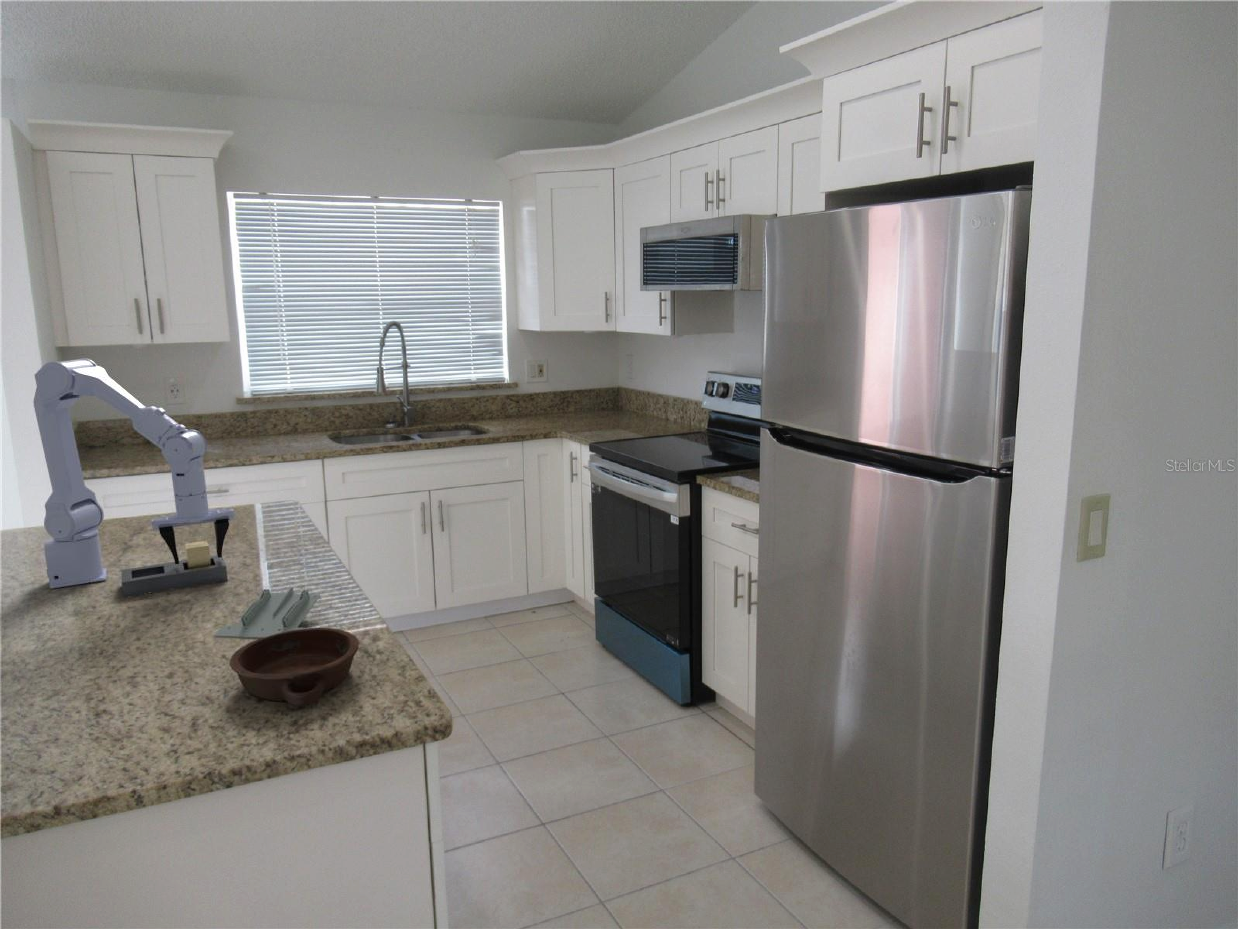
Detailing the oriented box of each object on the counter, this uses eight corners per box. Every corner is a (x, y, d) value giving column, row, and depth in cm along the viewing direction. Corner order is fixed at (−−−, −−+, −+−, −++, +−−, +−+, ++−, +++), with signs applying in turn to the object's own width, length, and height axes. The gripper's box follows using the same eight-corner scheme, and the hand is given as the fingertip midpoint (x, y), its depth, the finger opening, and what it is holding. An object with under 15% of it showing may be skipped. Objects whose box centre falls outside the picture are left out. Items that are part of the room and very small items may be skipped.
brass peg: (190, 582, 170) (186, 548, 169) (188, 577, 174) (184, 544, 172) (212, 579, 172) (208, 545, 171) (210, 573, 176) (206, 540, 174)
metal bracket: (251, 581, 153) (331, 583, 151) (260, 607, 156) (338, 610, 154) (207, 632, 141) (293, 635, 139) (217, 660, 143) (301, 664, 141)
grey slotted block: (123, 597, 163) (121, 582, 162) (123, 584, 170) (121, 569, 170) (227, 580, 171) (226, 566, 171) (223, 568, 179) (221, 554, 178)
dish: (343, 643, 139) (341, 613, 138) (378, 696, 120) (375, 662, 120) (226, 668, 131) (222, 637, 130) (243, 729, 112) (239, 693, 111)
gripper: (149, 502, 163) (158, 571, 165) (232, 492, 170) (240, 558, 172) (148, 495, 169) (156, 561, 171) (228, 485, 176) (236, 549, 178)
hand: (198, 559), depth 172 cm, fingers open, 7 cm apart
